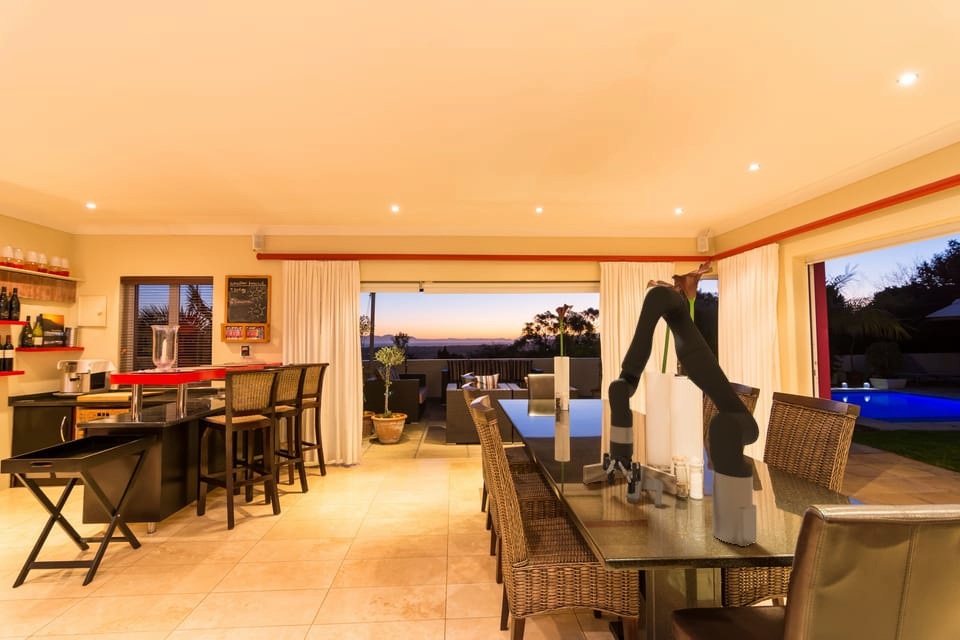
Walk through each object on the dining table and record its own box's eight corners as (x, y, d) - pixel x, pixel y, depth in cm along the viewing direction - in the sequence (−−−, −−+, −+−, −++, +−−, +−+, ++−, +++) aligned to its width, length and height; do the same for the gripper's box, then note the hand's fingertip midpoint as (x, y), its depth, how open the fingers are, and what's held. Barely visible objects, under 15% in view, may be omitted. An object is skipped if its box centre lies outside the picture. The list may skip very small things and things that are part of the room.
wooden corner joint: (676, 493, 147) (676, 475, 147) (629, 504, 137) (630, 485, 137) (623, 473, 168) (623, 457, 168) (579, 481, 157) (579, 464, 158)
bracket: (665, 491, 150) (664, 469, 145) (661, 526, 138) (660, 503, 134) (633, 485, 154) (631, 464, 150) (627, 518, 143) (625, 497, 139)
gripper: (646, 443, 139) (646, 494, 138) (613, 433, 151) (613, 480, 151) (630, 445, 135) (629, 498, 135) (597, 435, 148) (596, 484, 147)
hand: (620, 489), depth 143 cm, fingers open, 8 cm apart
